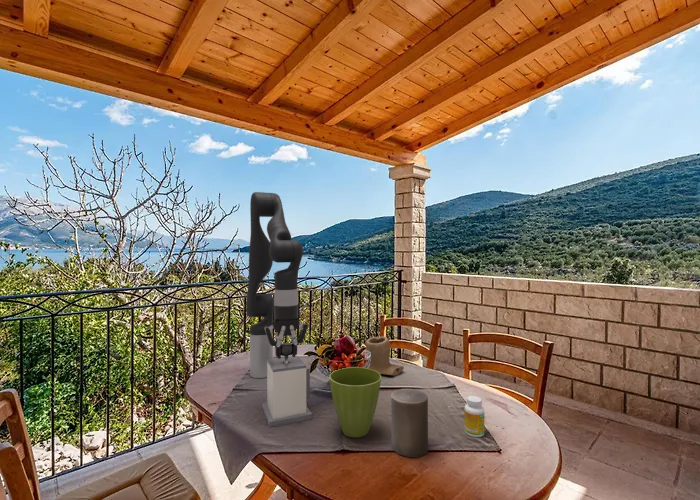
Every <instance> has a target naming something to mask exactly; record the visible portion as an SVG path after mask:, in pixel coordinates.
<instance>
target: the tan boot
mask: <svg viewBox="0 0 700 500" xmlns="http://www.w3.org/2000/svg"><path fill="white" fill-rule="evenodd" d="M364 344H365V346H366V347H367V349H368V350H369V351H370V352H371V361H370V360H369V364H370V366H369V368H368V369H372V370H375V371H377V372H378V373H380V375H385V376H386V375H387V376H398V375H400V374H401V373H402V372H403V371H404V365H400V364H399V365H398V364H394V363H391V362H390V356H391V355H390V354H391V342H390V340H389V338H388V337H386V336H383V335H382V336H379V337H378V336H372V337H370V338H368V339H366V341H365V342H364ZM366 347H365V348H366Z"/></svg>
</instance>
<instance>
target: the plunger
mask: <svg viewBox="0 0 700 500" xmlns="http://www.w3.org/2000/svg"><path fill="white" fill-rule="evenodd" d="M280 347H281V357H282V356H284V357H283V358H284V364H286V363H288V357H291V356H292V354H293V344H292V343H291V342H281V344H280Z"/></svg>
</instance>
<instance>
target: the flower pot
mask: <svg viewBox="0 0 700 500" xmlns="http://www.w3.org/2000/svg"><path fill="white" fill-rule="evenodd" d="M328 377H329V383H330V386H331V389H330V391H331V395H332V397H331V398H332V401H333V405H334V409H335V413H336V416H337V419H338V423H339V425H340V428H341V430H342V433H343V434H344V435H345V436H346V435H347V437H349V438H362V437H364V436H367V434H368V433H369V432H370V429H371V425H372V423H373V420H374V416H375V413H376V409H377V404H378V401H379V395H380V390H381V381H382V374H380V373H378V372H377V371H375V370H372V369H368V368H366V367H362V366H360V367H359V366H349V367H346V368H342V369H338V370H335V371H333V372H332V373H331V374H330V375H329V376H328Z"/></svg>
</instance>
